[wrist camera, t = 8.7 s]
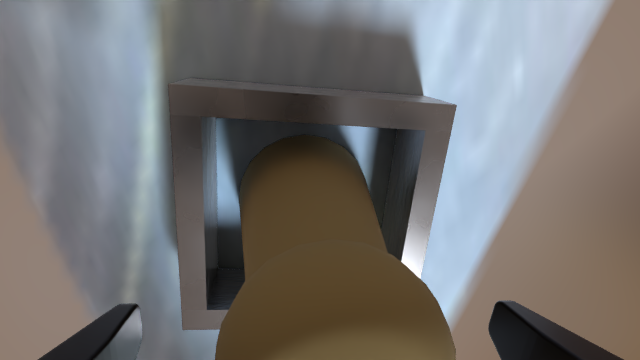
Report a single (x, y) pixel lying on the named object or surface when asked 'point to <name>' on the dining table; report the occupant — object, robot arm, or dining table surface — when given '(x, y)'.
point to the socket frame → (302, 107)
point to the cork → (323, 267)
